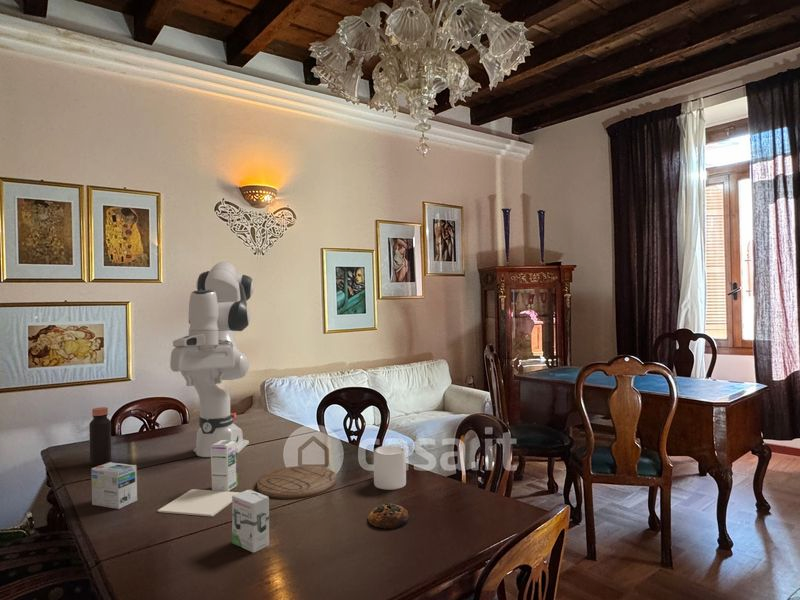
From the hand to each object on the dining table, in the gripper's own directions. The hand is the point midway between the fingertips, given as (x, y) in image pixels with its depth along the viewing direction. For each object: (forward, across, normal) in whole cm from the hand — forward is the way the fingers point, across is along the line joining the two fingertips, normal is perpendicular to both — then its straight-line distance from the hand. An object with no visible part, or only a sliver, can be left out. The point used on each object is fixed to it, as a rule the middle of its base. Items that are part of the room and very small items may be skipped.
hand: (204, 384), depth 158 cm
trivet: (+34, -23, +16) cm, 44 cm away
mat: (+34, +4, +6) cm, 34 cm away
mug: (+34, -41, +39) cm, 66 cm away
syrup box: (+33, -6, +1) cm, 33 cm away
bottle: (+28, +7, -58) cm, 65 cm away
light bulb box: (+33, +20, -15) cm, 41 cm away
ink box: (+37, +11, +38) cm, 55 cm away
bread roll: (+38, -20, +56) cm, 71 cm away
